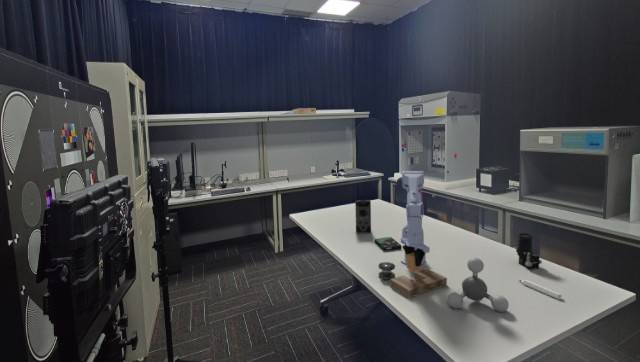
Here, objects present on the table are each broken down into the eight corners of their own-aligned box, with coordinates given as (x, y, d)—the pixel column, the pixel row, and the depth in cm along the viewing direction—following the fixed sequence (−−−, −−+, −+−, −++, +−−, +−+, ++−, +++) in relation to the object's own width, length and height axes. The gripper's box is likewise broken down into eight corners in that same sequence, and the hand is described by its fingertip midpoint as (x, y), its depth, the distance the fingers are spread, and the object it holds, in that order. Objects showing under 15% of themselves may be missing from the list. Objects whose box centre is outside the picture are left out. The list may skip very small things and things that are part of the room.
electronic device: (355, 233, 204) (355, 202, 201) (356, 230, 210) (355, 199, 207) (371, 233, 202) (370, 201, 199) (371, 230, 208) (370, 199, 205)
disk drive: (402, 250, 175) (390, 241, 189) (402, 245, 174) (390, 236, 188) (383, 252, 173) (373, 242, 187) (383, 247, 172) (373, 238, 187)
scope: (529, 240, 142) (510, 233, 151) (527, 270, 144) (509, 262, 153) (544, 238, 144) (525, 231, 153) (542, 267, 146) (523, 259, 155)
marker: (518, 283, 135) (559, 301, 120) (515, 282, 134) (556, 299, 119) (520, 277, 135) (562, 294, 120) (517, 276, 134) (559, 292, 119)
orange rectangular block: (414, 265, 138) (414, 252, 137) (421, 269, 134) (421, 255, 133) (406, 267, 136) (406, 254, 135) (413, 271, 133) (413, 257, 132)
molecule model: (480, 308, 129) (451, 261, 134) (518, 297, 119) (486, 247, 124) (461, 332, 114) (430, 279, 119) (504, 322, 104) (468, 264, 109)
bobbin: (388, 271, 148) (387, 261, 147) (398, 277, 142) (398, 266, 141) (375, 275, 145) (375, 264, 144) (385, 281, 139) (385, 270, 138)
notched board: (426, 274, 143) (426, 268, 143) (446, 284, 134) (446, 277, 133) (390, 286, 134) (390, 279, 134) (409, 297, 125) (409, 290, 124)
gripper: (395, 229, 137) (395, 260, 140) (420, 238, 125) (419, 272, 127) (407, 226, 141) (407, 256, 143) (433, 235, 128) (433, 268, 130)
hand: (414, 263), depth 135 cm, fingers closed on orange rectangular block, 4 cm apart
